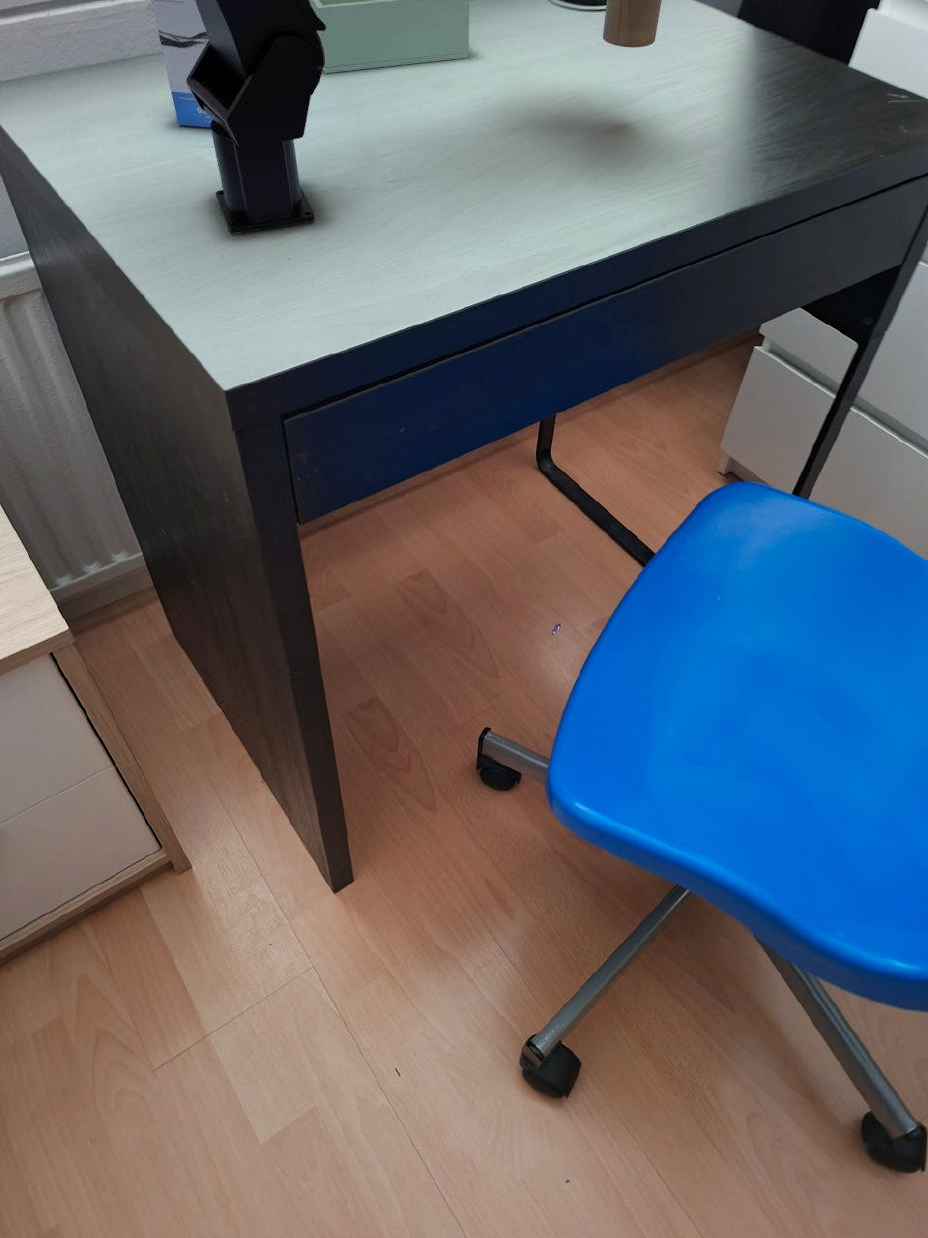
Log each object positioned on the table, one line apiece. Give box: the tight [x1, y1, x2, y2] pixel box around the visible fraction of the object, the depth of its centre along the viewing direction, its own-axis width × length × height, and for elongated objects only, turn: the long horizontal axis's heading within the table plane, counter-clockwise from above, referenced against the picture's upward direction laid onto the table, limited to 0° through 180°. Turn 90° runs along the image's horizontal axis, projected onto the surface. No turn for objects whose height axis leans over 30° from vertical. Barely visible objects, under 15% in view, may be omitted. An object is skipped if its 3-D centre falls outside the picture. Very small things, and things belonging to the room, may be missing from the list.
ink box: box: [150, 0, 213, 128], centre depth 73 cm, size 8×5×12 cm, turn 168°
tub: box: [309, 0, 470, 74], centre depth 88 cm, size 15×15×6 cm
